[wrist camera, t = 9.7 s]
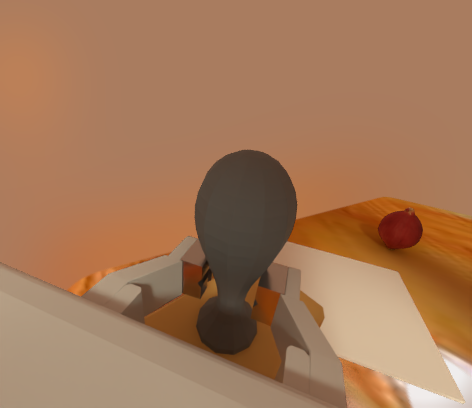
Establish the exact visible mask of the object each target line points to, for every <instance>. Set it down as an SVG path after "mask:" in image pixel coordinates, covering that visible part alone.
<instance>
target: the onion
mask: <svg viewBox="0 0 472 408" xmlns="http://www.w3.org/2000/svg"><path fill="white" fill-rule="evenodd" d="M378 232H379V235H380V237H381V239H382V240H383V241H384V243H385V245H386V246H387V247H388V248H389V249H403V248H409V247H412V246H414V245H416V244H417V243H418V242H419V240H420V238H421V236H422V232H423V228H422V224H421V222H420V220H419V219H418V217H417V216H416V215H415V213H414V209H412V208H407V209H405V210H404V211H397V212H393V213H391V214H388V215H387V216H385V217H384V218H383V219H382V221H381V223H380V224H379V227H378Z"/></svg>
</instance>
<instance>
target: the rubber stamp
mask: <svg viewBox="0 0 472 408" xmlns="http://www.w3.org/2000/svg"><path fill="white" fill-rule="evenodd" d="M296 212H297V200H296V192H295V189H294V186H293V184H292V182H291V179H290V177H289V175H288V173H287V172H286V170H285V169H284V168H283V167H282V165H281V164H280V163H279V162H278V161H277V160H275V159H274V158H272V157H271V156H269V155H268V154H266V153H263V152H260V151H254V150H241V151H238V152H235V153H231V154H228V155H226V156H224V157H223V158H222V159H220V160H218V161H217V162H216V163H215V164H214V165H213V166H212V167H211V169H210V170H209V171H208V173H207V174H206V177H205V179H204V181H203V183H202V185H201V187H200V190H199V192H198V195H197V200H196V204H195V224H196V230H197V234H198V239H199V242H200V244H201V247H202V250H203V252H204V255H205V257H206V259H207V262H208V264H209V266H210V268H211V271H212V273H213V276H214V278H212V280H211V281H209V282H207V288H206V290H205V292H204V294H203V295H202V297H201V299H198V298H195V297H192V296H189V295H186V294H184V295H182V296H181V297H179V298H177V299H175V300H174V301H172V302H170V303H168V304H167V305H165V306H163V307H161V308H160V309H158V310H156V311H154V312H153V313H151V314H149V315H147V316H146V317H144V320H145V325H147V326H150V327H152V328H154V329H157V330H159V331H161V332H164V333H166V334H168V335H171V336H173V337H175V338H178V339H180V340H182V341H185V342H187V343H189V344H192V345H194V346H196V347H199V348H201V349H203V350H206V351H208V352H210V353H213V354H215V355H217V356H220V357H222V358H224V359H227V360H229V361H231V362H234V363H236V364H238V365H241V366H243V367H245V368H248V369H250V370H252V371H255V372H257V373H259V374H262V375H264V376H266V377H269V378H271V379H273V380H274V379H275V377H276V374H277V372H278V369H279V367H280V364H281V362H282V361H281V358H280V355H279V352H278V349H277V346H276V343H275V340H274V337H273V334H272V331H271V328H270V327H271V326H269V325H266V324H264V323H261V322H259V321H256V320H254V319H251V313H252V308H253V305H254V301H255V296H256V291H257V287H258V284H259V280H260V277H261V275H262V274H263V273H264V272H265V271H266V270H267V269H268V267H269V266H270V265H271V263H272V262H273V261H274V259H275V258H276V257H277V255H278V254H279V252H280V251H281V250H282V248H283V247H284V245H285V243H286V242H287V240H288V238H289V236H290V234H291V232H292V230H293V226H294V223H295V219H296ZM300 301H303V302H304V303H305V305H306V307H307V308H308V310H309V312H310V313H311V315H312V316H313V318H314V320H315V321H316V323H317V325H318V326H319V328H320V327H321V325H322V323H323V320H324V318H325V317H324V310H323V307H322V306H321V305H319V304H318V303H317V302H315V301H314V300H313V299H311V298H310V297H309V296H307V295H306V294H305V293H303V292H302V291H301V290H300Z"/></svg>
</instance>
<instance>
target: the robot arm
mask: <svg viewBox="0 0 472 408" xmlns="http://www.w3.org/2000/svg"><path fill="white" fill-rule="evenodd" d="M212 278H213V273H212V271H211V268H210V266H209V264H208V262H207V259H206V257H205V255H204V252H203V250H202V247H201V244H200V242H199V239H197V238H194V237H190V236H188V237H186V238H185V239H184V240H183V241H182V242H181V243H180V244H179V245H178V246H177V247H176V249H174V250H173V251H172V252H171V253H170V254H169V256H166V255H164V256H161V257H158V258H155V259H152V260H149V261H146V262H143V263H140V264H137V265H134V266H131V267H128V268H125V269H122V270H119V271H116V272H113V273H110V274H108V275H107V276H105V277H104V278H103V279H102V280H101V281H99V282H98V283H97V284H96V285H95V286H93V287H92V288H91V289H90V290H89V291H87V292H86V293H85V294H84V295H82V296H81V297H80V296H78V295H75V294H73V293H71V292H68V291H66V290H64V289H61V288H59V287H56V286H54V285H52V284H50V283H47V282H45V281H43V280H40V279H38V278H36V277H33V276H30V275H29V274H26V273H24V272H22V271H19V270H17V269H14V268H12V267H10V266H8V265H5V264H3V263H1V262H0V408H347V403H346V394H345V386H344V377H343V369H342V363H341V362H340V360H339V358H338V357H337V355H336V354H335V352H334V350H333V349H332V347H331V346H330V344H329V342H328V341H327V339H326V337H325V336H324V334H323V333H322V331H321V329H320V328H319V326H318V325H317V323H316V321H315V320H314V318H313V316H312V315H311V313H310V312H309V310H308V308H307V307H306V305H305V303H304V302H303V301H300V283H301V270H299V269H296V268H292V267H288V266H284V265H281V264H278V263H274V262H272V263H271V265H270V266H269V267H268V269H267V270H266V271H265V272H264V273H263V274H262V275H261V277H260V280H259V284H258V287H257V291H256V296H255V301H254V305H253V308H252V313H251V319H254V320H256V321H259V322H261V323H264V324H266V325H269V326H271V327H270V328H271V331H272V334H273V337H274V340H275V343H276V346H277V349H278V352H279V355H280V358H281V361H282V362H281V364H280V367H279V369H278V372H277V374H276V377H275V379H274V380H273V379H271V378H269V377H266V376H264V375H262V374H259V373H257V372H255V371H252V370H250V369H248V368H245V367H243V366H241V365H238V364H236V363H234V362H231V361H229V360H227V359H224V358H222V357H220V356H217V355H215V354H213V353H210V352H208V351H206V350H203V349H201V348H199V347H196V346H194V345H192V344H189V343H187V342H185V341H182V340H180V339H178V338H175V337H173V336H171V335H168V334H166V333H164V332H161V331H159V330H157V329H154V328H152V327H150V326H147V325H145V320H144V317H145V316H147V315H149V314H150V313H152V312H154V311H155V310H157V309H159V308H160V307H162V306H164V305H165V304H167V303H168V302H170V301H172V300H173V299H175V298H177V297H178V296H180V295H182V293H183V294H186V295H189V296H192V297H195V298H198V299H201V297H202V295H203V294H204V292H205V290H206V288H207V282H209V281H211V280H212Z"/></svg>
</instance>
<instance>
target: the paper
mask: <svg viewBox="0 0 472 408" xmlns="http://www.w3.org/2000/svg"><path fill="white" fill-rule="evenodd" d="M273 262H274V263H278V264H281V265H284V266H288V267H292V268H296V269H299V270H301V283H300V290H301V291H302V292H303V293H305V294H306V295H307V296H309V297H310V298H311V299H313V300H314V301H315V302H317V303H318V304H319V305H321V306H322V307H323V310H324V317H325V318H324V320H323V323H322V325H321V327H320V329H321V331H322V333H323V334H324V336H325V337H326V339H327V341H328V342H329V344H330V346H331V347H332V349H333V350H334V352H335V354H336V355H337V357H340V358H343V359H345V360H348V361H351V362H353V363H356V364H359V365H361V366H364V367H367V368H369V369H372V370H375V371H377V372H380V373H383V374H385V375H388V376H391V377H393V378H396V379H398V380H401V381H404V382H406V383H409V384H412V385H415V386H417V387H420V388H422V389H425V390H428V391H431V392H433V393H436V394H438V395H441V396H444V397H446V398H449V399H452V400H454V401H457V402H460V403H462V404H464V403H465V400H464V399H463V396H462V395H461V393H460V391H459V389H458V387H457V385H456V383H455V381H454V379H453V377H452V375H451V373H450V371H449V369H448V367H447V365H446V364H445V362H444V360H443V358H442V356H441V354H440V352H439V350H438V348H437V346H436V344H435V342H434V340H433V338H432V336H431V335H430V333H429V331H428V329H427V327H426V325H425V323H424V321H423V319H422V317H421V315H420V313H419V311H418V309H417V307H416V306H415V304H414V302H413V300H412V298H411V296H410V294H409V292H408V290H407V288H406V286H405V284H404V282H403V280H402V278H401V277H400V275H399V273H398V272H397V271H394V270H390V269H386V268H383V267H379V266H375V265H372V264H368V263H365V262H361V261H357V260H354V259H350V258H346V257H343V256H339V255H335V254H332V253H328V252H324V251H321V250H317V249H314V248H310V247H306V246H303V245H299V244H295V243H292V242H288V241H287V242H286V243H285V245H284V247H283V248H282V250H281V251H280V252H279V254H278V255H277V257H276V258H275V259H274V261H273Z"/></svg>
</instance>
